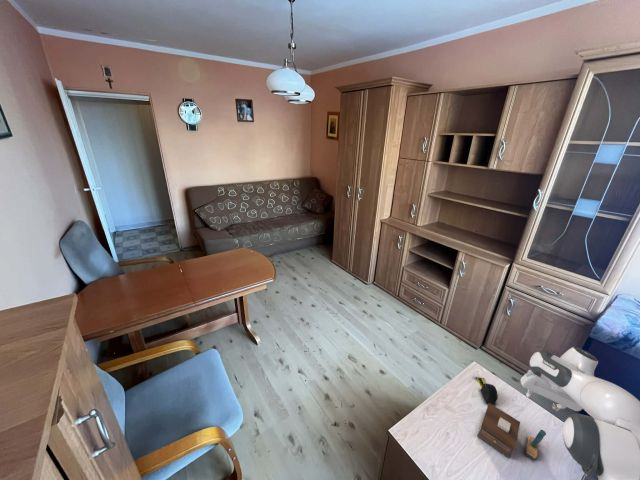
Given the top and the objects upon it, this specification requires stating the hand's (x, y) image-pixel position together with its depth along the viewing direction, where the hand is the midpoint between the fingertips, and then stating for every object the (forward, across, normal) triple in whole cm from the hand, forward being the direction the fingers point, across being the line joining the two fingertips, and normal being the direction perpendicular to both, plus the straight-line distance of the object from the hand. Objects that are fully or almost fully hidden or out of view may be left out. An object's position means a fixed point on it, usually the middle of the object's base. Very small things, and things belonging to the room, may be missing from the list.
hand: (541, 402), depth 109 cm
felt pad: (+18, -7, -3) cm, 19 cm away
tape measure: (+25, -9, +20) cm, 33 cm away
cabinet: (+26, -6, -2) cm, 27 cm away
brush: (+24, +7, -2) cm, 25 cm away
